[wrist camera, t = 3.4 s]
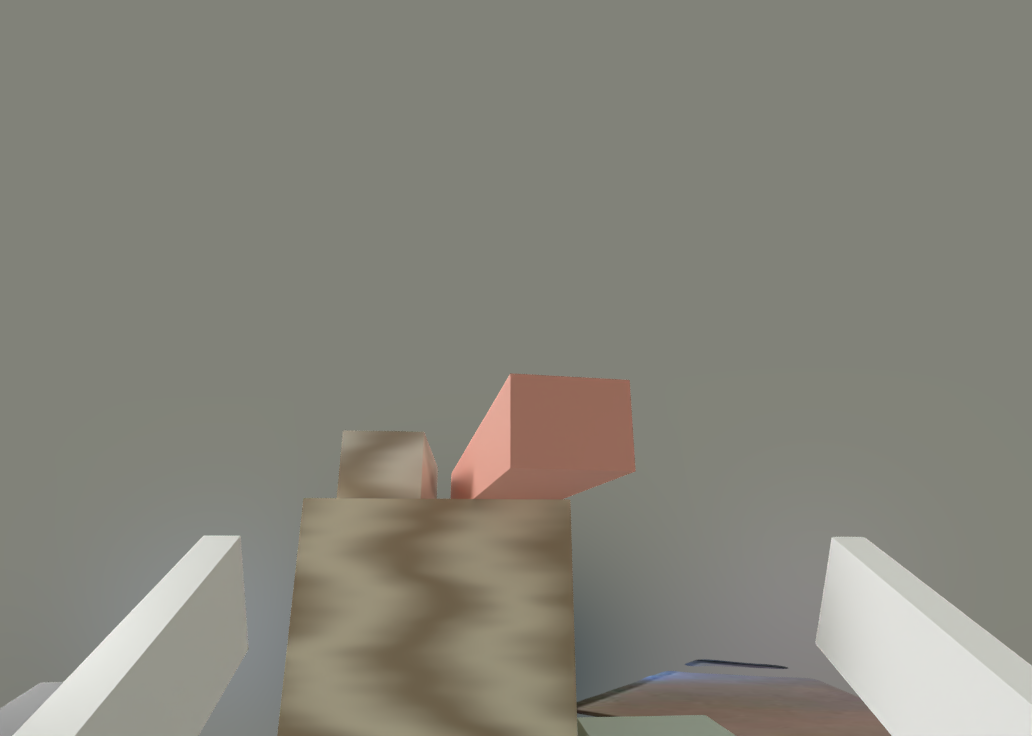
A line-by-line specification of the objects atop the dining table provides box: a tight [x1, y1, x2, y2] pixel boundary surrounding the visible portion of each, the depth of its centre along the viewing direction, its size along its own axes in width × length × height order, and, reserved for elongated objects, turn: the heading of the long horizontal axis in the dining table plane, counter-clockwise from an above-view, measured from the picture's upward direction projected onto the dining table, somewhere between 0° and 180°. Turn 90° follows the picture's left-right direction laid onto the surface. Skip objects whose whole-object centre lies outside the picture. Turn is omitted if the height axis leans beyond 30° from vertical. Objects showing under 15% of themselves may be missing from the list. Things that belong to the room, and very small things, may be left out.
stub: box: [451, 374, 635, 499], centre depth 29 cm, size 4×23×3 cm, turn 11°
